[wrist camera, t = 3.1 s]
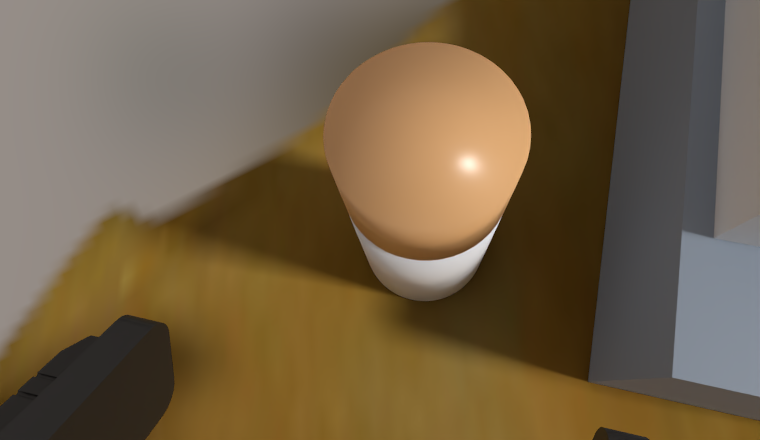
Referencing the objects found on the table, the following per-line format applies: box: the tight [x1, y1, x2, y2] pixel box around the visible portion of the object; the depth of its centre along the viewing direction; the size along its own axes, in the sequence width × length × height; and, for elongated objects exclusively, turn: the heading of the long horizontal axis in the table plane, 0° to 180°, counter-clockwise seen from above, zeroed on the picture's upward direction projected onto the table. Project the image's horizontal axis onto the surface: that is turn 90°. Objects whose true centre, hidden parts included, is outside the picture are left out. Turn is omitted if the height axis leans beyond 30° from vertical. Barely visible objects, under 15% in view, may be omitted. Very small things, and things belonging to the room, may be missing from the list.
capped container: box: [323, 42, 531, 301], centre depth 17 cm, size 5×5×10 cm
